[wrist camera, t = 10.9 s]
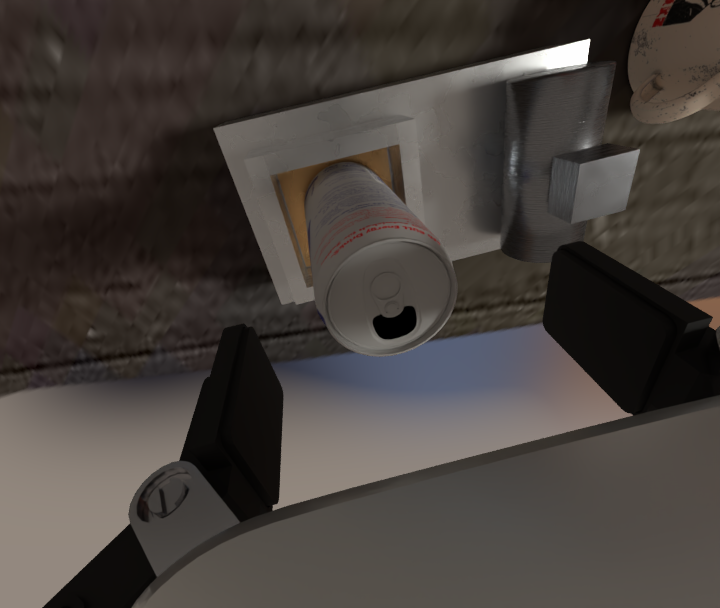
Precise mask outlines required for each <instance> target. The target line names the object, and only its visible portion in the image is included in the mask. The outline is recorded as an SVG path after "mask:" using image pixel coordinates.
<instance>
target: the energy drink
mask: <svg viewBox="0 0 720 608" xmlns="http://www.w3.org/2000/svg"><path fill="white" fill-rule="evenodd" d="M304 209H305V219H306V228H307V236H308V245H309V254H310V262H311V271H312V280H313V288H314V297H315V303H316V307H317V310H318V314H319V315H320V317H321V319H322V321H323V322H324V324H325V325H326V326H327V328H328V330H329V331H330V333H331V335H332V336H333V337H334V338H335V339H336V340H337V341H338V342H339V343H340V344H342V345H343V346H344V347H346V348H347V349H349V350H352V351H354V352H356V353H359V354H363V355H367V356H379V357H381V356H392V355H397V354H400V353H404V352H407V351H410V350H412V349H414V348H416V347H418V346H420V345H422V344H423V343H425V342H427V341H428V340H429V339H430V338H432V337H433V336H434V335H436V333H437V332H438V331H439V330H440V329H441V328H442V327H443V326H444V325H445V323H446V321H447V320H448V318H449V317H450V315H451V313H452V311H453V308H454V306H455V302H456V298H457V279H456V275H455V271H454V269H453V265H452V261H451V258H450V256H449V254H448V252H447V250H446V248H445V247H444V245H443V244H442V243H441V242H440V241H439V240H438V238H437V237H436V236H435V235H434V234H433V233H432V232H431V231H430V230H429V229H428V228H427V227H426V226H425V225H424V224H423V223H422V222H421V221H420V220H419V218H418V217H417V216H416V215H415V214H414V213H413V212H412V211H411V210H410V209H409V208H408V207H407V206H406V205H405V204H404V203H403V202H402V201H401V200H400V198H399V197H398V196H397V195H396V194H395V193H394V192H393V191H392V190H391V189H390V188H389V187H388V186H387V185H386V184H385V183H384V182H383V181H382V180H381V179H380V177H379V176H378V175H377V174H376V173H375V172H373V171H372V170H371V169H369V168H368V167H366V166H364V165H362V164H359V163H354V162H340V163H335V164H332V165H330V166H328V167H326V168H324V169H323V170H322V171H320V172H319V173H318V174H317V175H316V176H315V177H314V178H313V180H312V181H311V183H310V185H309V186H308V189H307V192H306V194H305V201H304Z"/></svg>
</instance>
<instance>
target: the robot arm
mask: <svg viewBox="0 0 720 608" xmlns="http://www.w3.org/2000/svg"><path fill="white" fill-rule="evenodd" d="M712 318H713V317H712V316H710V315H708V314H707V313H705V312H703V311H702V310H700V309H698V308H696V307H694V306H693V305H691V304H689V303H688V302H686V301H684V300H683V299H681V298H679V297H678V296H676V295H674V294H672V293H671V292H669V291H667V290H666V289H664V288H662V287H660V286H659V285H657V284H655V283H654V282H652V281H650V280H648V279H647V278H645V277H643V276H642V275H640V274H638V273H636V272H635V271H633V270H631V269H630V268H628V267H626V266H624V265H623V264H621V263H619V262H618V261H616V260H614V259H612V258H611V257H609V256H607V255H606V254H604V253H602V252H600V251H599V250H597V249H595V248H594V247H592V246H590V245H588V244H587V243H585V242H583V241H577V242H573V243H569V244H565V245H561V246H560V247H559V248H558V249H557V251H556V252H554V254H553V256H552V261H551V268H550V275H549V281H548V288H547V295H546V301H545V308H544V315H543V326H544V328H545V330H546V331H547V332H548V333H549V334H550V335H551V337H552V338H553V339H554V340H555V341H556V342H557V343H558V344H559V345H560V346H561V347H562V348H563V349H564V350H565V351H566V352H567V353H568V354H569V355H570V356H571V357H572V358H573V359H574V360H575V361H576V362H577V363H578V364H579V365H580V366H581V367H582V368H583V369H584V371H585V372H587V374H588V375H589V376H590V377H591V378H592V379H593V380H594V381H595V382H596V383H597V384H598V385H599V386H600V387H601V388H602V389H603V390H604V391H605V392H606V393H607V394H608V395H609V396H610V397H611V398H612V399H613V400H614V401H615V402H616V403H617V405H618V406H620V407H621V409H623V410H624V411H625V412H627V413H631V414H633V416H630V417H626V418H623V419H618V420H615V421H610V422H607V423H602V424H598V425H595V426H590V427H586V428H582V429H578V430H574V431H570V432H566V433H563V434H559V435H555V436H551V437H547V438H543V439H539V440H535V441H531V442H527V443H523V444H519V445H515V446H512V447H508V448H504V449H500V450H496V451H492V452H488V453H484V454H480V455H476V456H473V457H469V458H465V459H461V460H457V461H453V462H449V463H446V464H441V465H438V466H434V467H430V468H426V469H423V470H419V471H415V472H411V473H408V474H403V475H399V476H396V477H392V478H388V479H385V480H380V481H377V482H373V483H369V484H365V485H361V486H357V487H354V488H350V489H346V490H343V491H339V492H336V493H332V494H328V495H325V496H321V497H318V498H314V499H311V500H307V501H303V502H300V503H296V504H293V505H289V506H286V507H283V508H280V509H277V510H274V511H272V508H273V505H274V504H277V503H278V500H279V487H280V464H281V463H280V462H281V440H282V418H283V390H282V387H281V385H280V382H279V380H278V378H277V376H276V374H275V372H274V370H273V368H272V366H271V363H270V361H269V359H268V357H267V355H266V353H265V351H264V349H263V347H262V345H261V343H260V340H259V338H258V336H257V334H256V332H255V330H254V328H253V327H247V326H246V325H245V324H240V325H236V326H231V327H227V328H225V329H224V330H223V333H222V336H221V340H220V343H219V347H218V350H217V354H216V357H215V361H214V364H213V368H212V371H211V374H210V377H207V378H206V379H205V380H204V383H203V385H202V388H201V392H200V395H199V398H198V402H197V405H196V408H195V411H194V414H193V418H192V421H191V425H190V428H189V431H188V434H187V437H186V441H185V444H184V447H183V451H182V454H181V457H180V460H179V461H177V462H172V463H170V464H167V465H165V466H163V467H161V468H160V469H159V470H157V471H155V472H154V473H153V474H151V475H150V476H149V477H148V478H147V479H146V480H145V481H144V482H143V483H142V485H141V486H140V487H139V489H138V490H137V492H136V493H135V495H134V497H133V499H132V502H131V504H130V508H129V514H128V515H129V519H130V524H129V525H128V526H127V527H126V528H125V529H124V530H123V531H122V532H121V533H120V534H119V535H118V536H117V537H115V538H114V539H113V540H112V541H111V542H110V543H109V544H108V545H107V546H106V547H105V548H104V549H103V550H102V551H101V552H100V553H99V554H98V555H97V556H96V557H95V558H94V559H93V560H91V561H90V562H89V563H88V564H87V565H86V566H85V567H84V568H83V569H82V570H81V571H80V572H79V573H78V574H77V575H76V576H75V577H74V578H73V579H72V580H71V581H70V582H69V583H68V584H66V585H65V586H64V587H63V588H62V589H61V590H60V591H59V592H58V593H57V594H56V595H55V596H54V597H53V598H52V599H51V600H50V601H49V602H48V603H47V604H46V605H45V606H44V607H42V608H720V326H719V327H718V328H717V329H716V330H714V329H712V328H710V327H709V324H710V322H711V320H712Z"/></svg>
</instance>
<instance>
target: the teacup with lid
mask: <svg viewBox="0 0 720 608" xmlns="http://www.w3.org/2000/svg"><path fill="white" fill-rule="evenodd" d="M628 77H629V82H630V85H631V88H632V90H633V92H634V94H633V95H632V97H631V100H630V108H631V112H632V115H633V116H634V117H635V118H636V119H637V120H639V121H641V122H644V123H649V124H660V123H667V122H671V121H675V120H678V119H681V118H683V117H686V116H688V115H691V114H693V113H695V112H697V111H699V110H718V111H720V0H650V2H649V3H648V5H647V7H646V9H645V10H644V12H643V14H642V16H641V18H640V20H639V22H638V24H637V27H636V29H635V32H634V35H633V38H632V41H631V45H630V49H629V55H628Z"/></svg>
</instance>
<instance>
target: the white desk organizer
mask: <svg viewBox="0 0 720 608" xmlns="http://www.w3.org/2000/svg"><path fill="white" fill-rule="evenodd" d="M589 44H590V39H587V40H581V41H575V42H568V43H562V44H556V45H549V46H544V47H540V48H536V49H531V50H527V51H523V52H519V53H515V54H510V55H506V56H502V57H498V58H493V59H489V60H485V61H481V62H477V63H472V64H468V65H464V66H460V67H455V68H451V69H447V70H443V71H438V72H434V73H430V74H426V75H422V76H417V77H413V78H409V79H405V80H400V81H396V82H392V83H388V84H383V85H379V86H375V87H371V88H367V89H362V90H358V91H354V92H350V93H345V94H341V95H337V96H333V97H329V98H324V99H320V100H316V101H312V102H307V103H303V104H299V105H295V106H290V107H286V108H282V109H278V110H274V111H269V112H265V113H261V114H257V115H252V116H248V117H244V118H240V119H235V120H231V121H227V122H224V123H222V124H220V125H218V126H217V127H215V128H213V129H214V132H215V134H216V137H217V140H218V142H219V145H220V147H221V150H222V152H223V155H224V157H225V160H226V163H227V165H228V168H229V170H230V173H231V175H232V178H233V181H234V183H235V186H236V188H237V191H238V193H239V196H240V198H241V201H242V204H243V206H244V209H245V211H246V214H247V216H248V219H249V222H250V224H251V227H252V229H253V232H254V234H255V237H256V239H257V242H258V245H259V247H260V250H261V252H262V255H263V257H264V260H265V263H266V265H267V268H268V270H269V273H270V275H271V278H272V280H273V283H274V286H275V288H276V291H277V293H278V296H279V298H280V301H281V304H282V305H283V304H287V303H290V302H294V301H295V303H296V305H297V304H301V303H305V302H309V301H312V300H315V297H314V288H313V280H312V271H311V262H310V254H309V245H308V236H307V228H306V219H305V209H304V201H305V194H306V192H307V189H308V186H309V185H310V183H311V181H312V180H313V178H314V177H315V176H316V175H317V174H318V173H319V172H320V171H322V170H323V169H324V168H326V167H328V166H330V165H332V164H335V163H340V162H354V163H359V164H362V165H364V166H366V167H368V168H369V169H371V170H372V171H373V172H375V173H376V174H377V175H378V176H379V177H380V179H381V180H382V181H383V182H384V183H385V184H386V185H387V186H388V187H389V188H390V189H391V190H392V191H393V192H394V193H395V194H396V195H397V196H398V197H399V198H400V200H401V201H402V202H403V203H404V204H405V205H406V206H407V207H408V208H409V209H410V210H411V211H412V212H413V213H414V214H415V215H416V216H417V217H418V218H419V220H420V221H421V222H422V223H423V224H424V225H425V226H426V227H427V228H428V229H429V230H430V231H431V232H432V233H433V234H434V235H435V236H436V237H437V238H438V240H439V241H440V242H441V243H442V244H443V245H444V247H445V248H446V250H447V252H448V254H449V256H450V258H451V261H454V260H458V259H462V258H466V257H470V256H474V255H477V254H481V253H485V252H489V251H493V250H497V249H501V250H502V252H503V253H504V254H506V255H507V256H509V257H511V258H514V259H517V260H521V261H526V262H535V263H548V262H551V261H552V256H553V254H554V252H556V251H557V249H558V248H559V247H560V246H561V245H565V244H569V243H573V242H577V241H583V240H584V235H585V229H586V224H587V220H589V219H593V218H596V217H600V216H604V215H608V214H612V213H616V212H620V211H624V210H625V209H626V205H627V201H628V196H629V192H630V188H631V184H632V180H633V176H634V172H635V168H636V164H637V160H638V156H639V152H640V149H636V148H631V147H625V146H620V145H614V144H608V143H607V144H603V145H601V144H602V138H603V133H604V127H605V122H606V117H607V111H608V106H609V101H610V95H611V90H612V84H613V79H614V74H615V68H616V63H617V62H616V61H602V62H592V63H587V57H588V50H589Z"/></svg>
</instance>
